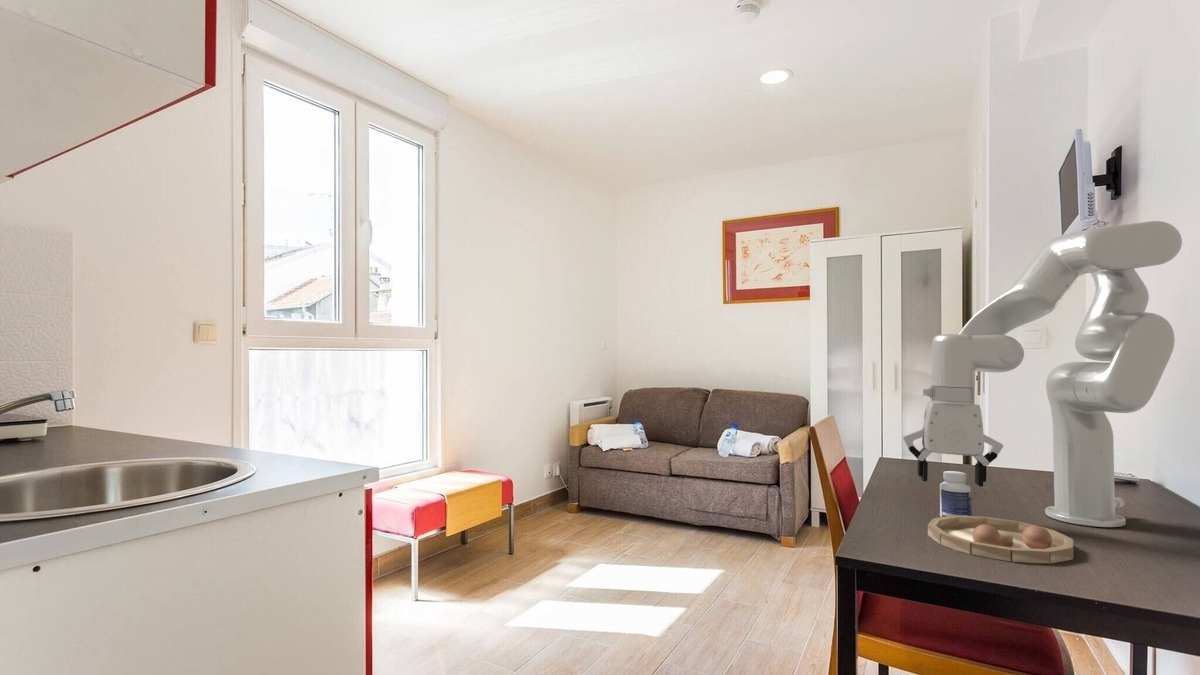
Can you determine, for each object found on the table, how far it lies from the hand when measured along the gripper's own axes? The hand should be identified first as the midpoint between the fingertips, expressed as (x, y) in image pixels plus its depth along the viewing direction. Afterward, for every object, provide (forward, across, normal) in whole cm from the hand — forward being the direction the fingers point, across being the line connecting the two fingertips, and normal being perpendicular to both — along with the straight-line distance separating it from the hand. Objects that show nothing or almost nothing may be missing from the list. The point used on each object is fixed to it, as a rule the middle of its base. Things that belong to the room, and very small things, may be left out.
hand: (951, 482), depth 119 cm
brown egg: (+7, +1, -20) cm, 22 cm away
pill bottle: (+8, +1, 0) cm, 8 cm away
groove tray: (+8, +4, -15) cm, 18 cm away
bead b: (+7, +9, -18) cm, 21 cm away
